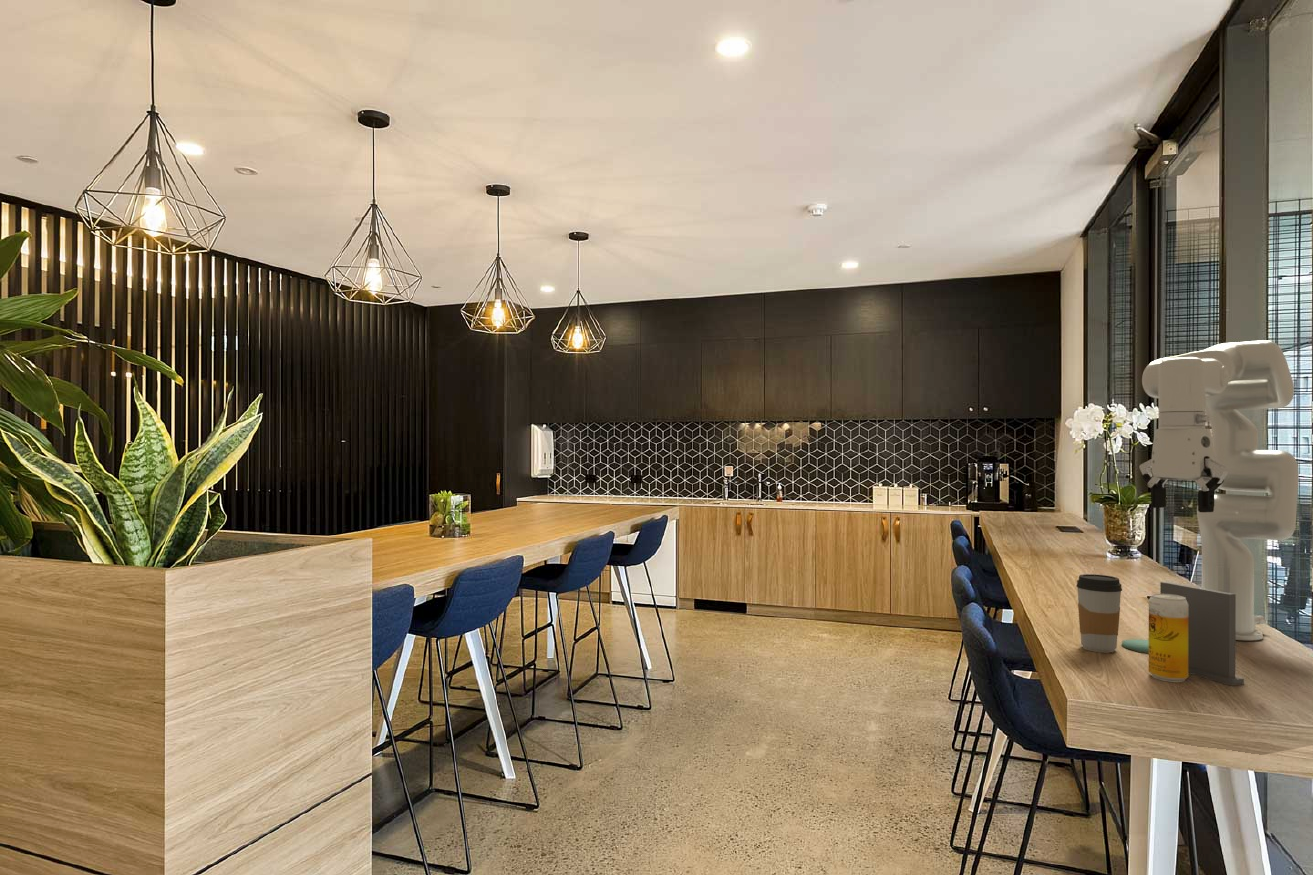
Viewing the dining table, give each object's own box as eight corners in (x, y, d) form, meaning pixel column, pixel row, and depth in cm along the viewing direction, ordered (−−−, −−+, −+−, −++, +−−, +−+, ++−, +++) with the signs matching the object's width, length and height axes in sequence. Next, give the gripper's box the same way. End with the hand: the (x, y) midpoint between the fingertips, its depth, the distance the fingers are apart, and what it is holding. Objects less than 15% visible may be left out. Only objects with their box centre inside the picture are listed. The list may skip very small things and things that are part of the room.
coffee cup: (1128, 655, 156) (1129, 581, 156) (1083, 653, 157) (1084, 579, 157) (1113, 644, 164) (1113, 574, 164) (1070, 642, 165) (1070, 573, 166)
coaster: (1144, 640, 168) (1144, 637, 168) (1190, 652, 158) (1190, 649, 158) (1110, 644, 164) (1110, 641, 164) (1154, 656, 155) (1154, 653, 155)
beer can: (1140, 673, 144) (1141, 593, 144) (1171, 672, 144) (1171, 592, 144) (1164, 683, 138) (1165, 599, 138) (1196, 682, 138) (1196, 599, 138)
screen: (1163, 661, 152) (1164, 580, 152) (1243, 684, 137) (1244, 594, 137) (1152, 662, 151) (1153, 581, 151) (1232, 685, 136) (1232, 595, 136)
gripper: (1241, 420, 142) (1241, 513, 142) (1155, 422, 158) (1155, 505, 158) (1211, 420, 140) (1211, 514, 140) (1127, 422, 156) (1127, 506, 156)
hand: (1181, 509), depth 149 cm, fingers open, 9 cm apart
